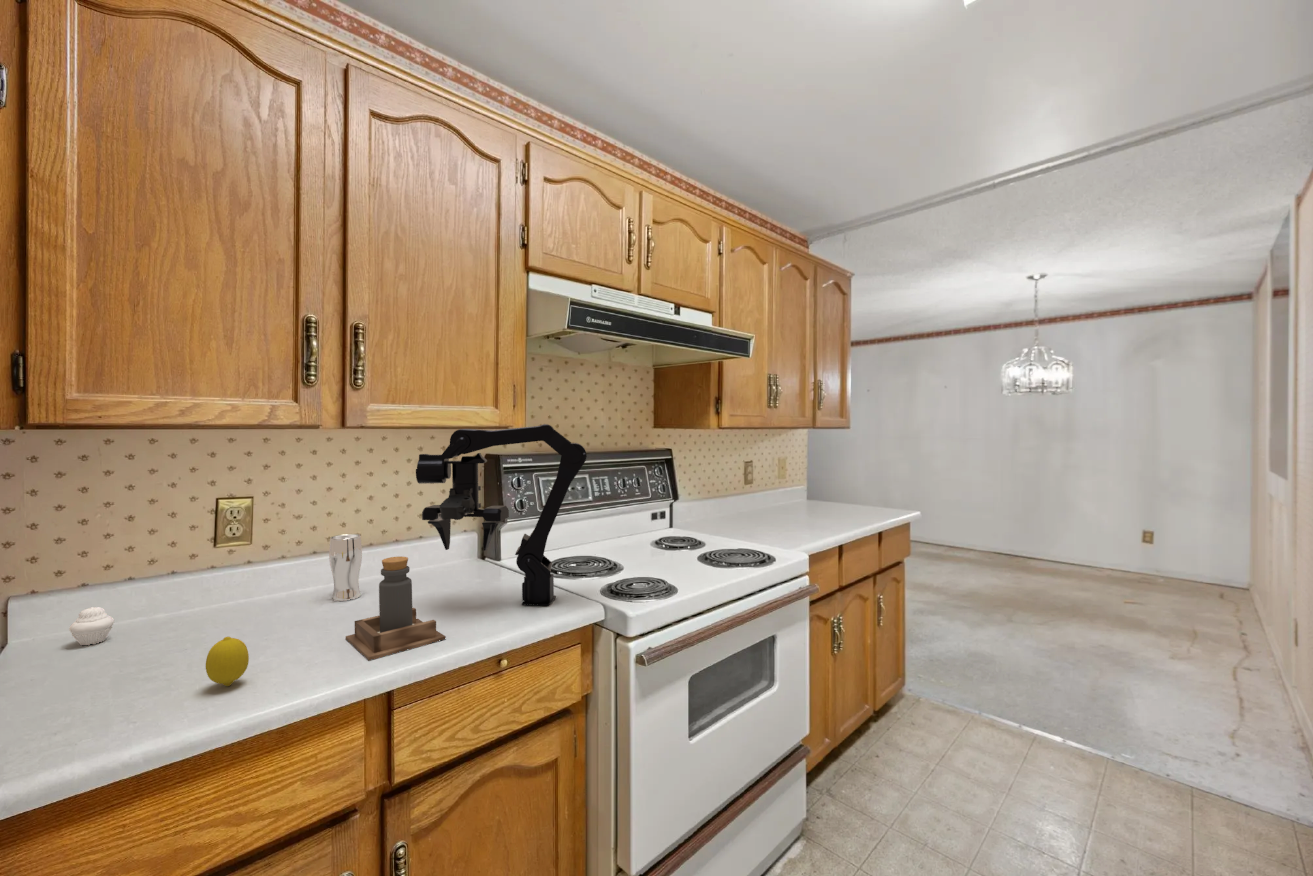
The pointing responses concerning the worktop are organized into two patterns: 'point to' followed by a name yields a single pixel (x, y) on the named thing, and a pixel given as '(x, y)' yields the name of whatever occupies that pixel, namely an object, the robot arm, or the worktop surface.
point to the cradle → (392, 636)
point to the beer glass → (345, 565)
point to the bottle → (395, 594)
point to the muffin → (91, 626)
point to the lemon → (227, 661)
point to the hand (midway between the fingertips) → (466, 549)
